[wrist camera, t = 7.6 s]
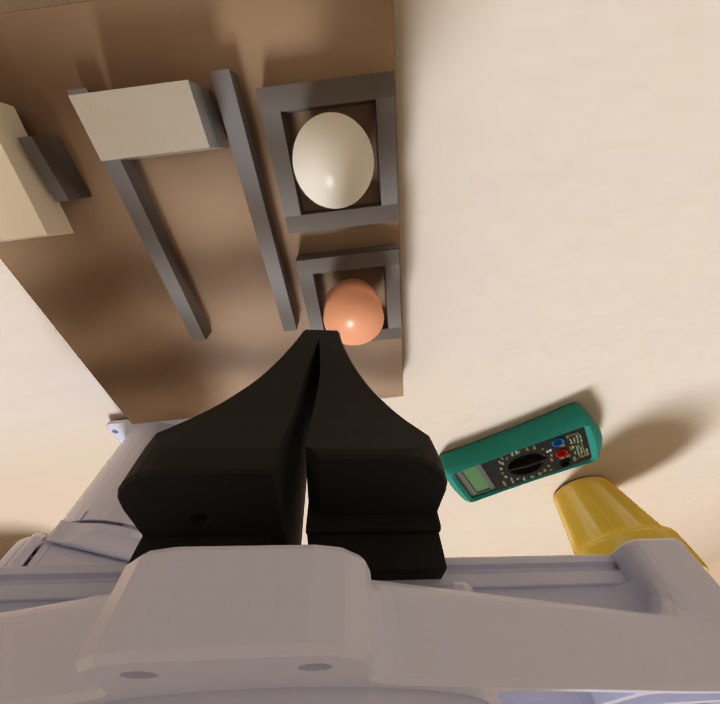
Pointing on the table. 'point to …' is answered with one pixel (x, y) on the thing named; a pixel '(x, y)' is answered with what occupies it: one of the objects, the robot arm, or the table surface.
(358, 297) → the peach egg shape
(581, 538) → the plant pot
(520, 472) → the digital multimeter
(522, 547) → the table surface
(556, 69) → the table surface
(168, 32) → the brown flat wooden tray
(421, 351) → the table surface
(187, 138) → the light grey small block
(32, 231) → the block
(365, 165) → the cream egg shape
